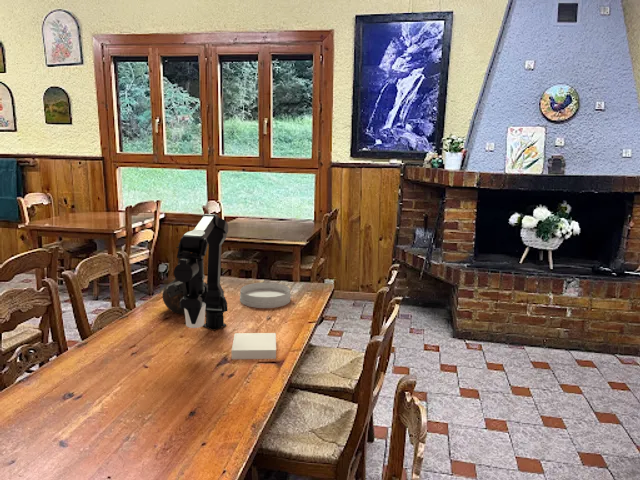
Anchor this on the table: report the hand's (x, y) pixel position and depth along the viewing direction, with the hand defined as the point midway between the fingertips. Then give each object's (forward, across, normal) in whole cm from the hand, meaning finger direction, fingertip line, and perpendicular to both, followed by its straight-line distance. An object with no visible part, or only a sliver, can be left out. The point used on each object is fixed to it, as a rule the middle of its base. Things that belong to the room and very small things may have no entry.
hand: (195, 320), depth 155 cm
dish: (+11, -53, +22) cm, 59 cm away
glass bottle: (+11, -40, -10) cm, 42 cm away
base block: (+11, -1, +19) cm, 22 cm away
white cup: (+2, 0, 0) cm, 2 cm away
